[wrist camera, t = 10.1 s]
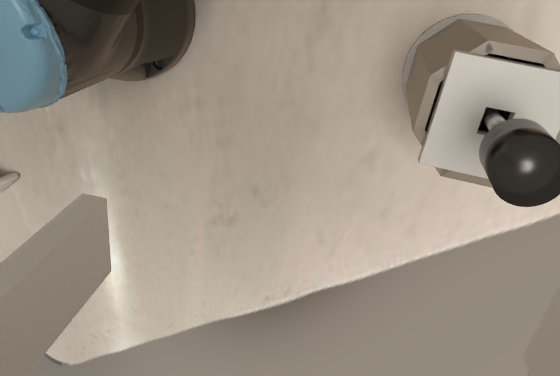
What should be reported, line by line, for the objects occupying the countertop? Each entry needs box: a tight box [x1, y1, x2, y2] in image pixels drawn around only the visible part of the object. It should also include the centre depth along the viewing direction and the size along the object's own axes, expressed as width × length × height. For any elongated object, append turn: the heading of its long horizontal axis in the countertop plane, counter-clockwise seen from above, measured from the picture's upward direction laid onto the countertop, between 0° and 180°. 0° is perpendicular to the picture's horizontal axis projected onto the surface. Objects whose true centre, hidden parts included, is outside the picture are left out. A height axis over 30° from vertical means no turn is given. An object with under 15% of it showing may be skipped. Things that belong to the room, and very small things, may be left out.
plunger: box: [432, 53, 560, 207], centre depth 34 cm, size 8×8×20 cm
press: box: [403, 14, 560, 188], centre depth 40 cm, size 14×12×16 cm
